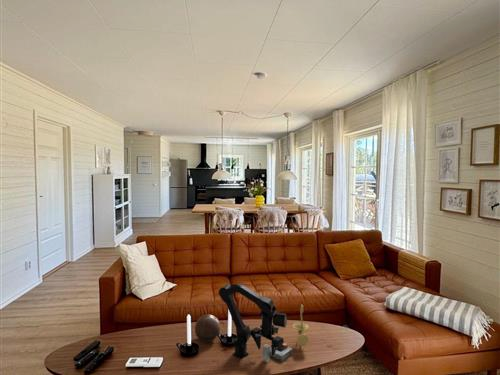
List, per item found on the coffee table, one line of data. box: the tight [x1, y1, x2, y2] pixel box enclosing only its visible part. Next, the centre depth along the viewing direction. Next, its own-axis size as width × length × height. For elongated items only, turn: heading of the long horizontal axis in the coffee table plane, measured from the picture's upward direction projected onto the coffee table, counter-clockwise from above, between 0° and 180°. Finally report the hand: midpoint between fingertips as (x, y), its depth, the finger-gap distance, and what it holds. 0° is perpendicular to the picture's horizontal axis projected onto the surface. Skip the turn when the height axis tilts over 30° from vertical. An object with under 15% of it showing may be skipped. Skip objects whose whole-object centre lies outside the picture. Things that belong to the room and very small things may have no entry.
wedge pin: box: [261, 343, 271, 363], centre depth 166 cm, size 3×3×8 cm
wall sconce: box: [292, 304, 309, 347], centre depth 182 cm, size 14×10×25 cm
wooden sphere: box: [194, 314, 221, 343], centre depth 186 cm, size 15×15×15 cm
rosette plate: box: [270, 342, 293, 362], centre depth 173 cm, size 10×10×4 cm
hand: (266, 352), depth 166 cm, fingers open, 9 cm apart
